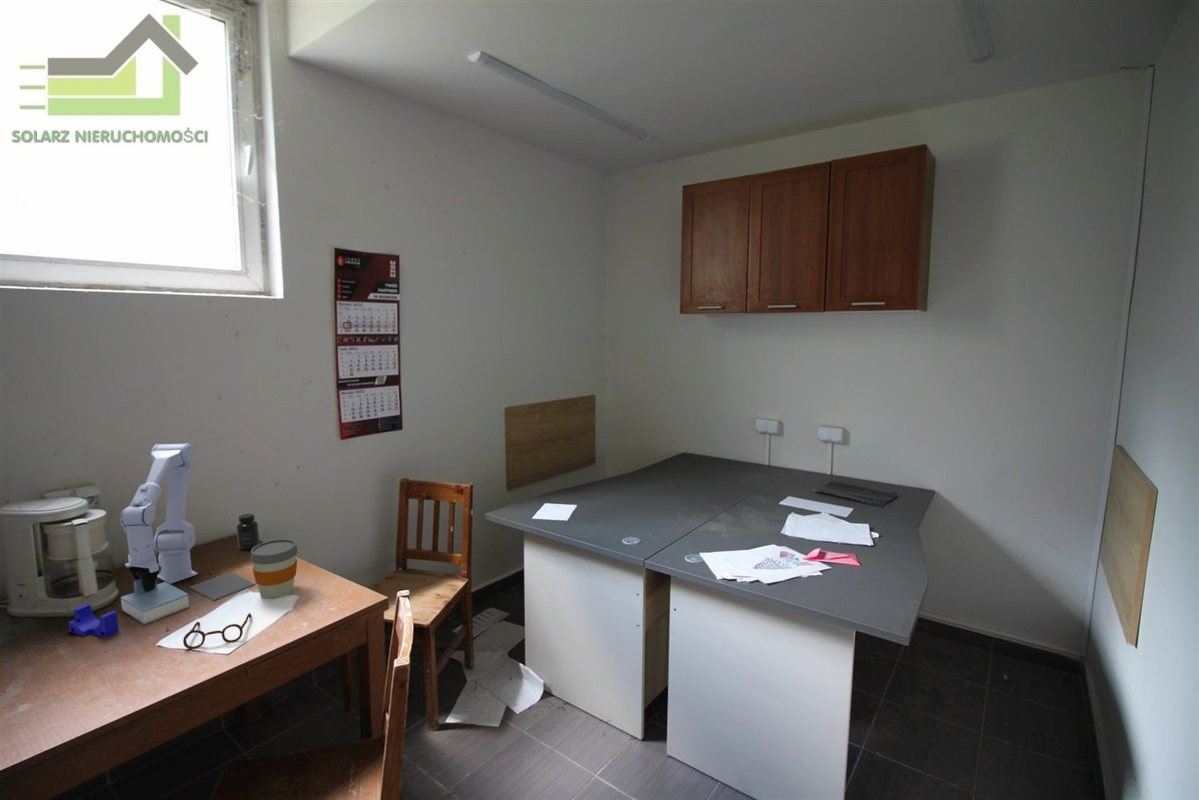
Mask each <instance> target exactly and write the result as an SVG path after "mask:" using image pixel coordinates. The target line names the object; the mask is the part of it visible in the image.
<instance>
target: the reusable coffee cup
mask: <svg viewBox="0 0 1199 800" xmlns="http://www.w3.org/2000/svg"><path fill="white" fill-rule="evenodd" d="M250 550H251V551H250V562H251V563H252V567H251V568H252V574H253V576H254V577H253V578H254V580H255V582H254V583H255V584H257V586H258V591H259V595H260V597H261V598H262V599H263V600H277V598H278V599H282V598H285V597H286V596H287V597H288V595H290V594H291V593H292V592H293V591H294V584H295V576H297V566H298V559H297V554H298V547H297V542H296V541H295V540H293V539H288V538H284V539H283V538H282V539H281V538H279V539H273V540H268V541H263V542H262V543H260V544H258V545H256V546H255V547H253V548H252V549H250Z"/></svg>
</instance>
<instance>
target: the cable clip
mask: <svg viewBox="0 0 1199 800" xmlns="http://www.w3.org/2000/svg"><path fill="white" fill-rule="evenodd" d="M73 612H74V620H73V619H72V620H70V621H69V622H68V628H69V632H70V633H73V634H76V635H79V636H83V637H86V636H89V635H91V634H92V635H96V636H99V637H103V638H106V639H107V638H109V637H111V636H113V635H116V634H118V633H119V632H120V630H119V629H120V628H119V622H118V614H117V611H113V610H111V611H110V612H107V613H105V614H103V615H100V616H99V619H98V618H97V616H96V615H95V614H94V612H93V610H92V606H91V604H88V603H86V604H84V605H81V606H79V607H76V608H74V609H73Z"/></svg>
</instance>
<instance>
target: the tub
mask: <svg viewBox="0 0 1199 800" xmlns="http://www.w3.org/2000/svg"><path fill="white" fill-rule="evenodd" d="M189 600H190V599H189V595H188V596H187V597H184V598H181V599H179V600H176V601H173V602H171V603H168V604H165V605H163V606H160V607H157V608H155V609H152V610H149V611H147V612H144V613H143V612H141V611H140V610H138V609H136V608H135V607H133V606H131V605H130V604H128V603H126V602H125V601H123V600H121V599H120V602H121V603H120V604H121V609H122V612H124V613H126V614H128V615H129V616H130V617H132V618H134V619H135V620H137V621H138V622H140V623H142V624H143V625H147V624H149V623H153V622H155V621H157V620H159V619H161V618H164V617H167V616H170V615H172V614H175V613H177V612H180V611H182V610H185V609H188V608H190V601H189Z"/></svg>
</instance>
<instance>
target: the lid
mask: <svg viewBox="0 0 1199 800" xmlns="http://www.w3.org/2000/svg"><path fill="white" fill-rule="evenodd" d="M157 579H158V578H157ZM157 579H156V584H155V588H154V590H152V591H149V592H145V591H144V589H143V585H142V582H141V580H140V579H138V580H135V581H134V580H133V589H134V592H132V593H129V594H125V595H123V596H121V597H120V601H121V600H123V601H125V602H126V603H128V604H130V605H131V606H133V607H135V608H136V609H138V610H140V611H141V612H143V613H144V612H147V611H149V610H152V609H155V608H157V607H160V606H163V605H165V604H168V603H171V602H173V601H176V600H179V599H181V598H184V597H187V596H188V597H189V593H187V592H185V591H183V590H181V589H180V588H178V587H176V586H174V585H172V584H169V583H167V582H166V581H163V582H161V583H158V581H157Z"/></svg>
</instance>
